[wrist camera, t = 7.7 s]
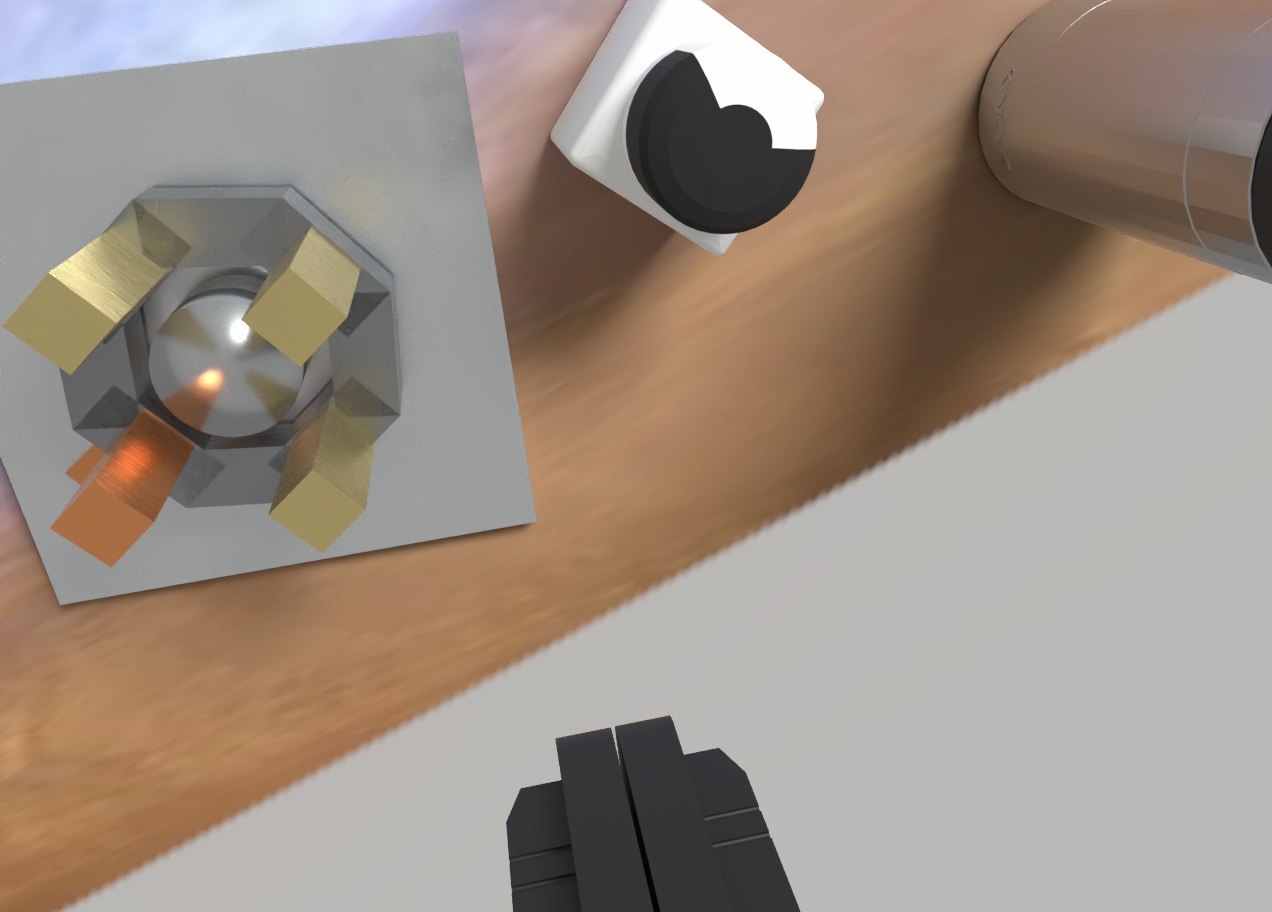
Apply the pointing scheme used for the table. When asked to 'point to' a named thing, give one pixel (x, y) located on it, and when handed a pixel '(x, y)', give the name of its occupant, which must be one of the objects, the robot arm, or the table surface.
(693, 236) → the medicine bottle
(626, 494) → the table surface
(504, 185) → the table surface
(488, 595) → the table surface
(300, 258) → the octagonal frame
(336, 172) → the base plate
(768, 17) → the table surface
